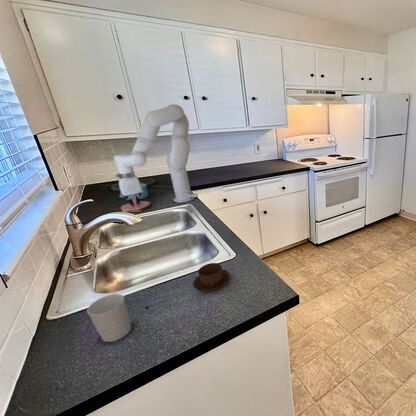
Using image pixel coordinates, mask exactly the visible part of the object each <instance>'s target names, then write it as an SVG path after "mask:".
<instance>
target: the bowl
mask: <svg viewBox="0 0 416 416" xmlns="http://www.w3.org/2000/svg"><path fill="white" fill-rule="evenodd" d="M140 185H141V188H142V189H143V190H144V191H145V192H144V193H143V194H141V196H140V198H139V199H140V200H141V199H146V198H147V197H149V191H148V187H147V186H146V184H140ZM130 198H136V195H135V194H133V195H130ZM124 199H125V200H126V201H128V199H126V198H124Z"/></svg>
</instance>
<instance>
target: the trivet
mask: <svg viewBox="0 0 416 416" xmlns="http://www.w3.org/2000/svg"><path fill="white" fill-rule="evenodd" d="M150 206H151V203H150V204H149V205H148V206H146V207H144V208H141V209H136V210H122V209H121V213H139V212H143V211H144V210H146V209H147V208H149V207H150Z"/></svg>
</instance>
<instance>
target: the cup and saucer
mask: <svg viewBox="0 0 416 416" xmlns="http://www.w3.org/2000/svg"><path fill="white" fill-rule="evenodd" d="M230 278H231V274H230V272H229V271H228V270H226V269H223V268H222V265H221V264H220V263H218V262H210V263H206V264H204V265H202V266H201V267H200V268H199V269H198V276H196V278H194V280H193V283H192V284H193V287H194V289H196V290H197V291H199V292H213V291H216V290H218V289H220V288H222V287H224V286H225V285H226V284H228V282H229V281H230Z"/></svg>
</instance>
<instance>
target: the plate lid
mask: <svg viewBox="0 0 416 416" xmlns="http://www.w3.org/2000/svg"><path fill="white" fill-rule="evenodd" d="M131 199H132V201H133V206H132V205H130V204H129V202H128V203H125V204H123V205H121V206H120V210H121V211H122V210H136V209H141V208H144V207H146V206H148V205H149V204H151V202H150V201H148V200H140V204H138V203H137V199H136V198H131Z"/></svg>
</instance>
